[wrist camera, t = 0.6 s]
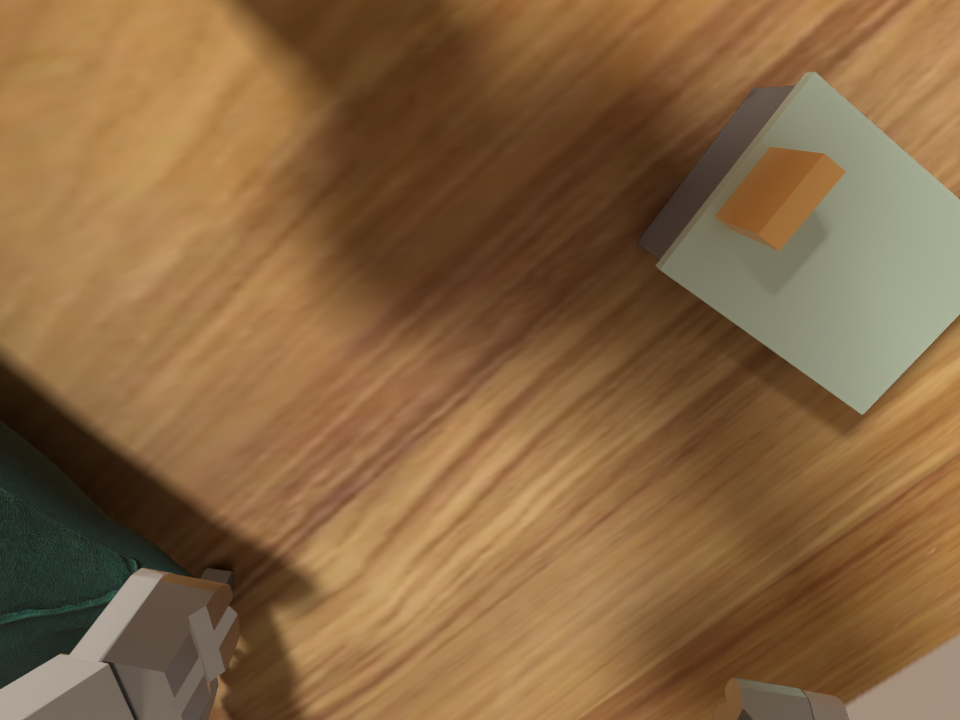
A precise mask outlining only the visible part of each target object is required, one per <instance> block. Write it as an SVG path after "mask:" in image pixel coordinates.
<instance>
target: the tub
mask: <svg viewBox="0 0 960 720" xmlns="http://www.w3.org/2000/svg"><path fill="white" fill-rule="evenodd" d="M794 87H795V86H784V87H766V88H754V89H753V90H752V91H751V93H750V94H749V95H748V97H747V98H746V99H745V100H744V102H743V103H742V104H741V106H740V107H739V108H738V110H737V111H736V112H735V114H734V115H733V116H732V118H731V119H730V120H729V122H728V123H727V124H726V126H725V127H724V128H723V129H722V131H721V132H720V133H719V135H718V136H717V137H716V139H715V140H714V141H713V143H712V144H711V145H710V147H709V148H708V149H707V151H706V152H705V153H704V154H703V156H702V157H701V158H700V160H699V161H698V162H697V164H696V165H695V166H694V168H693V169H692V170H691V172H690V173H689V174H688V176H687V177H686V178H685V180H684V181H683V182H682V183H681V185H680V186H679V187H678V189H677V190H676V191H675V193H674V194H673V195H672V197H671V198H670V199H669V201H668V202H667V203H666V205H665V206H664V207H663V208H662V210H661V211H660V212H659V214H658V215H657V216H656V218H655V219H654V220H653V222H652V223H651V224H650V226H649V227H648V228H647V230H646V231H645V232H644V233H643V235H642V236H641V237H640V239H639V240H638V241H637V244H639V245H640V246H641V247H643V248H644V249H645V250H647V251H648V252H650V253H651V254H652V255H654V256H655V257H656V258H658V259H659V260H660V259H661V258H662V257H663V255H664V254H665V253H666V251H667V250H668V249H669V248H670V246H671V245H672V244H673V242H674V241H675V240H676V239H677V237H678V236H679V235H680V233H681V232H682V231H683V230H684V228H685V227H686V226H687V224H688V223H689V222H690V221H691V219H692V218H693V217H694V215H695V214H696V213H697V212H698V210H699V209H700V208H701V206H702V205H703V204H704V203H705V201H706V200H707V199H708V198H709V196H710V195H711V194H712V192H713V191H714V190H715V189H716V187H717V186H718V185H719V183H720V182H721V181H722V180H723V178H724V177H725V176H726V174H727V173H728V172H729V171H730V169H731V168H732V167H733V165H734V164H735V163H736V162H737V160H738V159H739V158H740V156H741V155H742V154H743V153H744V151H745V150H746V149H747V147H748V146H749V145H750V144H751V142H752V141H753V140H754V138H755V137H756V136H757V135H758V133H759V132H760V131H761V129H762V128H763V127H764V126H765V124H766V123H767V122H768V120H769V119H770V118H771V117H772V115H773V114H774V113H775V111H776V110H777V109H778V108H779V106H780V105H781V104H782V102H783V101H784V100H785V99H786V97H787V96H788V95H789V93H790V92H791V91H792V90H793V88H794Z"/></svg>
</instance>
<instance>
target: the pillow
mask: <svg viewBox="0 0 960 720" xmlns="http://www.w3.org/2000/svg"><path fill="white" fill-rule="evenodd" d="M141 568H146V569H152V570H157V571H163V572H169V573H173V574H176V575H182V576H187V577H192V578H196V577H195V576H193V575H192V574H191V573H189V572H188V571H187V570H185V569H184V568H183V567H181V566H180V565H179V564H178V563H177V562H175V561H174V560H173V559H172V558H171V557H170V556H168V555H167V554H166V553H165V552H164V551H163V550H161V549H160V548H159V547H158V546H157V545H155V544H154V543H153V542H151V541H150V540H148V539H147V538H145V537H143V536H142V535H140V534H138V533H137V532H135V531H133V530H131V529H129V528H128V527H126V526H124V525H122V524H121V523H119V522H117V521H116V520H114V519H113V518H111V517H110V516H109V515H107V514H106V513H105V512H104V511H102V510H101V509H100V508H99V507H98V506H97V505H96V504H95V503H94V502H93V501H92V500H91V499H90V498H89V497H88V496H87V495H86V494H85V493H84V492H83V491H82V490H81V489H80V488H79V487H78V486H77V485H76V484H75V483H74V482H73V481H72V480H71V479H70V478H69V477H68V476H67V475H66V474H65V473H64V472H63V471H61V470H60V469H59V468H58V467H57V466H56V465H55V464H54V463H52V462H51V461H50V460H49V459H48V458H47V457H46V456H44V455H43V454H42V453H41V452H40V451H39V450H37V449H36V448H35V447H34V446H33V445H31V444H30V443H29V442H28V441H26V440H25V439H24V438H23V437H21V436H20V435H19V434H18V433H16V432H15V431H14V430H12V429H11V428H10V427H8V426H7V425H6V424H4V423H3V422H2V421H0V689H2V688H3V687H5V686H7V685H8V684H10V683H12V682H14V681H15V680H17V679H19V678H20V677H22V676H24V675H25V674H27V673H29V672H30V671H32V670H34V669H35V668H37V667H39V666H41V665H42V664H44V663H46V662H47V661H49V660H51V659H52V658H54V657H56V656H57V655H59V654H67V655H69V654H70V653H71V652H72V651H73V649H74V648H75V647H76V645H77V644H78V643H79V642H80V640H81V639H82V638H83V636H84V635H85V634H86V633H87V631H88V630H89V629H90V627H91V626H92V625H93V624H94V622H95V621H96V620H97V618H98V617H99V616H100V615H101V613H102V612H103V611H104V609H105V608H106V607H107V605H108V604H109V603H110V602H111V600H112V599H113V598H114V596H115V595H116V594H117V593H118V591H119V590H120V589H121V587H122V586H123V585H124V584H125V582H126V581H127V580H128V578H129V577H130V576H131V575H132V574H134V573H135V572H137V571H138V570H139V569H141Z"/></svg>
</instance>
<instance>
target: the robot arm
mask: <svg viewBox="0 0 960 720" xmlns="http://www.w3.org/2000/svg"><path fill="white" fill-rule="evenodd" d="M232 599H233V594H232V591H231V588H230V585H229V584H224V583H218V582H213V581H208V580H203V579H197V578H192V577H187V576H182V575H176V574H173V573H169V572H163V571H157V570H152V569H146V568H141V569H139V570H138V571H137V572H135V573H134V574H132V575H131V576H130V577H129V578H128V580H127V581H126V582H125V584H124V585H123V586H122V587H121V589H120V590H119V591H118V593H117V594H116V595H115V596H114V598H113V599H112V600H111V602H110V603H109V604H108V605H107V607H106V608H105V609H104V611H103V612H102V613H101V615H100V616H99V617H98V618H97V620H96V621H95V622H94V624H93V625H92V626H91V627H90V629H89V630H88V631H87V633H86V634H85V635H84V636H83V638H82V639H81V640H80V642H79V643H78V644H77V645H76V647H75V648H74V649H73V651H72V652H71V653H70V654H69V655H67V654H59V655H57V656H56V657H54V658H52V659H51V660H49V661H47V662H46V663H44V664H42V665H41V666H39V667H37V668H35V669H34V670H32V671H30V672H29V673H27V674H25V675H24V676H22V677H20V678H19V679H17V680H15V681H14V682H12V683H10V684H8V685H7V686H5V687H3V688H2V689H0V720H199V719H200V717H201V715H202V713H203V711H204V709H205V708H206V706H207V704H208V702H209V700H210V698H211V691H210V683H209V682H210V681H212V680H213V679H215V678H216V677H217V676H219V675H220V674H222V673H223V672H225V670H226V669H227V667H228V665H229V663H230V661H231V659H232V657H233V655H234V652H235V649H236V645H237V642H238V639H239V632H240V622H239V617H238V614H237V613H236V612H235V611H234V610H233V609H232V608H231V607H230V606H229V604H230V603H231V601H232ZM725 696H726V702H724V703H722V704H720V705H717V707H716V710H715V712H714V715H713V717H712V720H849V718H848V715H847V712H846V708H845V706H844V704H843V703H842V702H841V700H840V699H839V698H838V697H836V696H834V695H829V694H823V693H817V692H812V691H806V690H800V689H799V688H794V687H788V686H782V685H776V684H770V683H764V682H758V681H752V680H746V679H740V678H732V679H730V680H729V681H728V683H727V685H726V687H725Z"/></svg>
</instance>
